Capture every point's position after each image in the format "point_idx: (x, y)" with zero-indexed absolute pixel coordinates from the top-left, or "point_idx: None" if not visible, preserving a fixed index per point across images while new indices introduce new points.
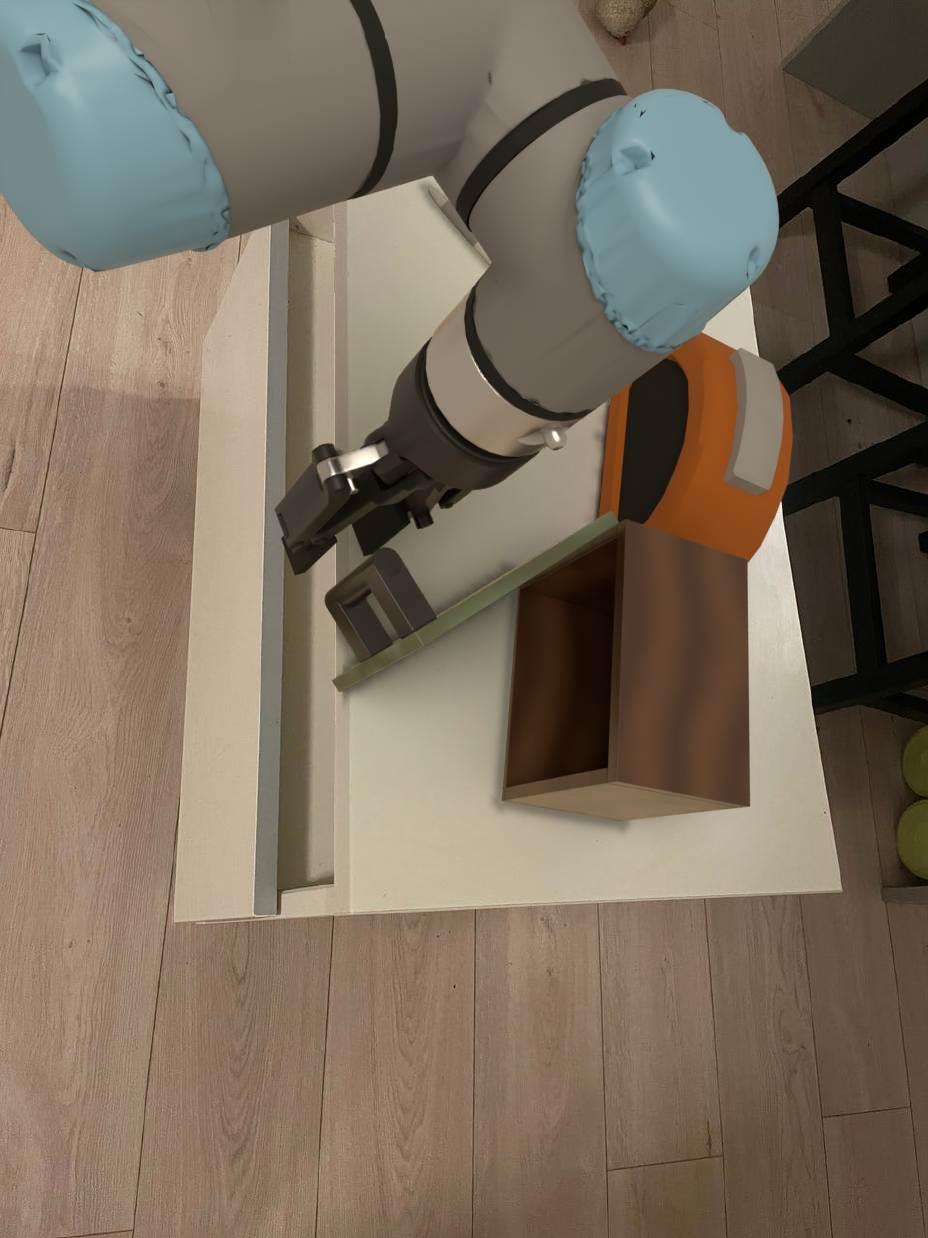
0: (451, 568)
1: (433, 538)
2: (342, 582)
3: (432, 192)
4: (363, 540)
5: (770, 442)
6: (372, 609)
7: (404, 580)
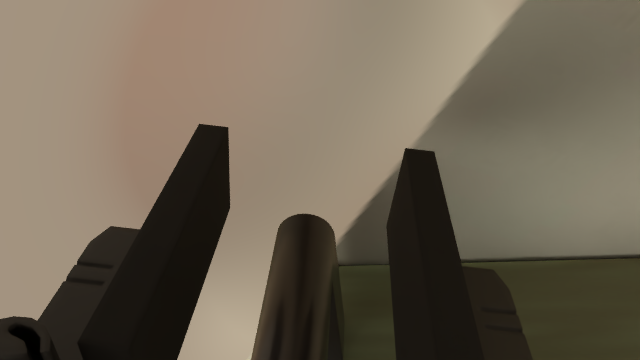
0: (604, 208)
1: (624, 149)
2: (266, 304)
3: None
4: (394, 221)
5: None
6: (336, 314)
7: None
